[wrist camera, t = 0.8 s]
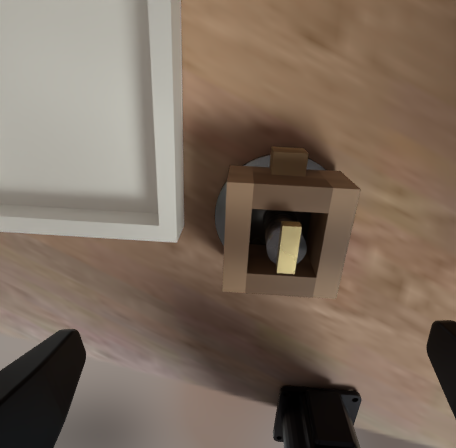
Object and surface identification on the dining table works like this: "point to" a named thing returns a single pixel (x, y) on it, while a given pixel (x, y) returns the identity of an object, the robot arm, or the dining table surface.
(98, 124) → the tray
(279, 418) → the robot arm
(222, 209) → the grey rounded piece
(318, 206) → the brown hollow block
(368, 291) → the dining table surface
